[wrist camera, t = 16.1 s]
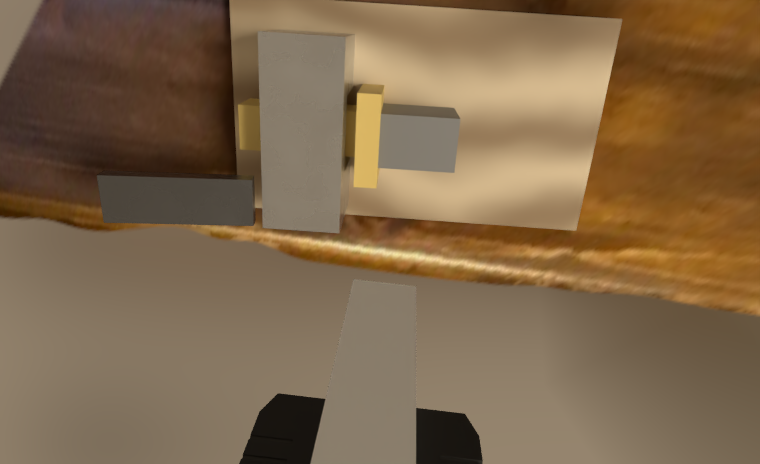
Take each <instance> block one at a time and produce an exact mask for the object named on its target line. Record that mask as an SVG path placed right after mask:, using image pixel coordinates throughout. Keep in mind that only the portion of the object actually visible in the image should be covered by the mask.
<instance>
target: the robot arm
mask: <svg viewBox="0 0 760 464" xmlns="http://www.w3.org/2000/svg"><path fill="white" fill-rule="evenodd" d="M239 464H482V453H481V447H480V440H479V435H478V434H477V432H476V431H475V429H474V428H473V426H472V424H471V423H470V421H469V420H468V418H467V417H466V415H465V414H462V413H454V412H445V411H437V410H428V409H419V408H416V286H410V285H400V284H392V283H383V282H374V281H366V280H357V279H354V280H353V284H352V288H351V292H350V296H349V301H348V305H347V309H346V314H345V318H344V322H343V327H342V331H341V335H340V339H339V344H338V348H337V352H336V357H335V361H334V365H333V369H332V374H331V378H330V382H329V386H328V391H327V395H326V399H320V398H311V397H303V396H295V395H287V394H277V395H276V396H275V397H274V398H273V399H272V400H271V401H270V402H269V403H268V404H267V405H266V406H265V407H264V408H263V409H262V410H261V411H260V412H259V415H258V417H257V420H256V423H255V425H254V427H253V430H252V432H251V436H250V439H249V440H248V443H247V445H246V448H245V451H244V453H243V458H242V459H241V461H240V463H239Z"/></svg>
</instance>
